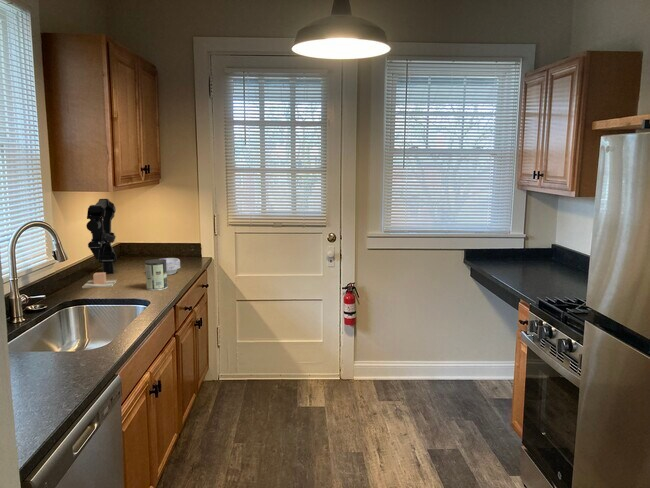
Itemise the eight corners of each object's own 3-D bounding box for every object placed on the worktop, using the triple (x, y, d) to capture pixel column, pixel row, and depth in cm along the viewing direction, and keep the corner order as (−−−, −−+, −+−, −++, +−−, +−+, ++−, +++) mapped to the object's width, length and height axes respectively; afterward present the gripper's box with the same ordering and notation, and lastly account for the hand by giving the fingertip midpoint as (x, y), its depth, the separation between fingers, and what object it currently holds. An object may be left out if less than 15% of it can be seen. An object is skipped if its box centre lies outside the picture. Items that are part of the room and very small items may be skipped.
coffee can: (158, 284, 269) (157, 258, 266) (172, 287, 263) (170, 260, 261) (141, 288, 260) (140, 261, 258) (155, 291, 255) (153, 263, 252)
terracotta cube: (96, 282, 271) (95, 272, 270) (106, 281, 272) (105, 272, 271) (93, 284, 266) (93, 274, 265) (104, 283, 267) (103, 274, 266)
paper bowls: (163, 269, 304) (163, 256, 303) (185, 271, 299) (185, 258, 298) (146, 275, 290) (146, 261, 289) (169, 277, 285) (169, 263, 284)
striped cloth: (89, 281, 274) (89, 280, 274) (117, 280, 277) (117, 279, 277) (82, 288, 261) (81, 286, 261) (111, 287, 263) (111, 285, 263)
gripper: (109, 231, 267) (111, 260, 269) (117, 226, 285) (119, 254, 288) (86, 231, 265) (88, 261, 267) (95, 226, 283) (97, 254, 286)
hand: (99, 257), depth 277 cm, fingers open, 9 cm apart
